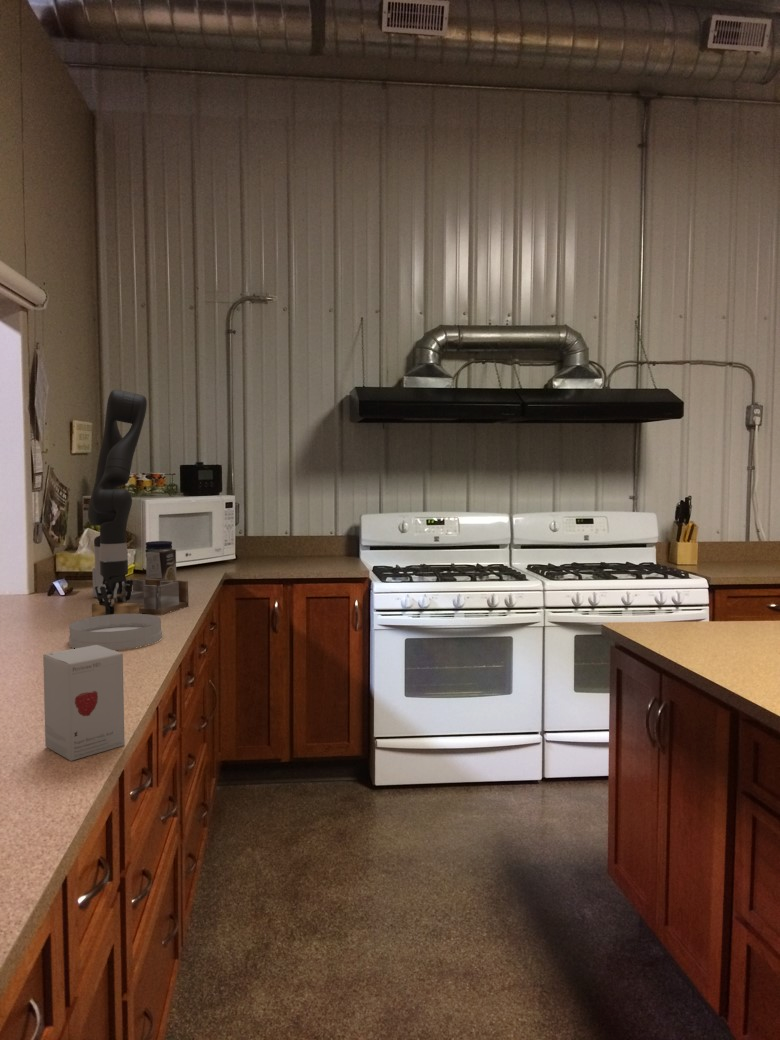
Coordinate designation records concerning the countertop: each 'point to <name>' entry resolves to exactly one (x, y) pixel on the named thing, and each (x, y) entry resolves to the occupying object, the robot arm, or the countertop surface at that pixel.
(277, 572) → the countertop surface
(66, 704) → the supplement box
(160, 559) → the coffee box
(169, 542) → the storage jar
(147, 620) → the dish
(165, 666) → the countertop surface
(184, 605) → the bracket board
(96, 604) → the rail
